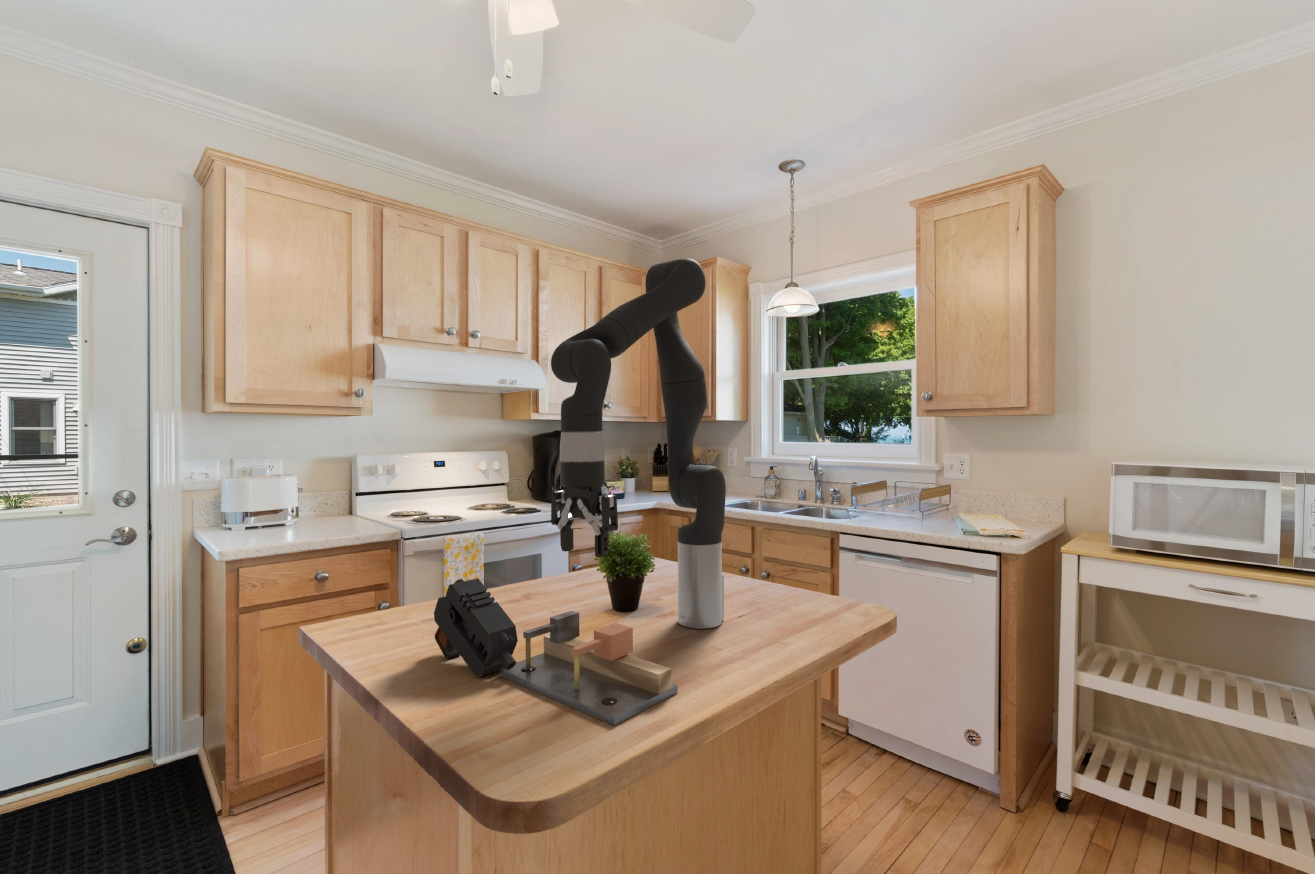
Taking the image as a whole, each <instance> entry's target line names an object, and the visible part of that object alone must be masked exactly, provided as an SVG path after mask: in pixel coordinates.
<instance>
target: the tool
mask: <svg viewBox="0 0 1315 874" xmlns="http://www.w3.org/2000/svg"><path fill="white" fill-rule="evenodd" d="M487 590H488V588H487V587H486V586H485V585H484V583H483V582H482V581H481V579H479V578H473V579H469V580H464V579H463V578H459V579H456V581H454V583H451V584H448V587H447V590H446V593H445V596H441V597H438V599H437V601H436V605H435V608H434V610H433V611H434V612H433V617H434V622H435V624H436V625H437V626H438V627H437V629H436V631H435V633H434V640H435V642H436V644H437V646H438V647H439V649H440V651H441V653H442V655H443V656H444V658H445V660H449V659H453V658H455V657H458V656H460V657H461V658H462V660H463V661H464V663H465V664H466V665H467V666H468V668H469V669H470V670H471V672H472V673H473V675H474V676H475V677H476V678H481V677H484V676H486V675H490V674H492V673H495V672H499V669H500V668H502V667H504V668H505V669H506V670H510V669H512V668H513V667H514V666H515V664H516V663H517V661H516V660H515V658H514V657H513V654H514V651H515V649H516V646H517V645H518V641H519V639H518V634H517V633H518V632H517V628H516V624H515V623H514V622H513V620H512V619H511V618H510V616H509V615H508V614H507V612H506V611H505V610H504V609H503V608H502V606H501V605H500V603H498V601H495V600H496V599H495V597H494V596H491V595H492V594H491V592H490V591H487Z"/></svg>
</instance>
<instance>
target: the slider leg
mask: <svg viewBox="0 0 1315 874" xmlns="http://www.w3.org/2000/svg"><path fill="white" fill-rule="evenodd" d="M592 650H594V655H596V656H599V657H602V658H604V659H607V660H610V661H612V660H615V659H617V658H620V657H622V656H625V655H630V654H632V653H634V628H633V627H631V626H629V625H628V626H627V625H624V624H620V623H618V622H614V623H611V624H608V625H606V626H603V627H599V628H596V629H594V630H593V640H590V641H587V643H584V644H581V645H579V646H576V647H573V648H572V655H574V687H575V688H579V687H580V666H579V655H582V654H585V653H587V652H590V651H592Z"/></svg>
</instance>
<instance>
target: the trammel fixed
mask: <svg viewBox="0 0 1315 874" xmlns="http://www.w3.org/2000/svg"><path fill="white" fill-rule="evenodd" d="M548 633H549V634H548ZM545 634H546V635H545ZM522 635H523V639H525V659H526V668H531V657H532V655H531V654H532V653H531V651H532V650H531V646H532V645H531V643H532V641H531V639H533V638H535V637H539V636H542V635H543V653H546V654H549V655H551V656H554V657H557V658H560V659H562V660H565V661H568V662H571V663H573V664H574V655H572V648H573V647H576V646H579V645H581V644H584V643H587V642H588V641H587V640H583V639H580V638H579V637H580V612H577V611H574V610H569V611H566V612H563V613H560V614H556V615H554V616H549V623H547V624H544V625H540V626H537V627H534V628H530V629H528V630H523V632H522ZM579 666H582V667H584V668H587V669H590V670H593V671H595V672H598V673H601V674H604V675H606V676H609V677H612V678H615V679H617V680H620V681H623V682H626V683H629V684H631V685H634V686H637V687H640V688H642V689H645V690H648V691H651V692H653V693H656V694H661V693H663V692H665V691H667V690H669V689H671V688H672V683H673V681H672V676H673V675H672V674H673V673H672V668H670V667H667V666H664V665H662V664H658V663H655V662H653V661H649V660H646V659H642V658H639V657H636V656H634V655H630V654H627V655H625V656H622V657H620V658H617V659H615V660H612V661H610V660H607V659H604V658H602V657H599V656H596V655H594V650H592V651H590V652H587V653H585V654H582V655H579Z"/></svg>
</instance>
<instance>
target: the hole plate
mask: <svg viewBox="0 0 1315 874" xmlns="http://www.w3.org/2000/svg"><path fill="white" fill-rule="evenodd" d="M498 677H501V678H503V679H505V680H508V681H510V682H512V683H515V684H516V685H519V686H521V687H524V688H526V689H528V690H531V691H533V692H535V693H538V694H540V695H542V696H544V697H547V698H549V699H550V700H551V699H552V700H553V701H555V702H558V703H561V704H563V705H565V706H568V707H570V708H573V709H575V710H577V711H579V712H582V713H583V714H586V715H588V716H591V717H594V718H595V719H598V720H599V721H603V722H605V723H607V724H609V725H611V726H614V727H615V726H617V725H619V724H620V723H623V722H624V721H627V720H628V719H630V718H632V717H635V716H636V715H638V714H640V713H641V712H644V711H646V710H647V709H650V708H651V707H653V706H654V705H657V704H659V703H661V702H663V701H665V700H666V699H669V698H670V697H672V696H674V695H676V694H678V693H679V692H678V690H679V688H678V684H676V683H674V682H672V688H671V689H669V690H667V691H665V692H663V693H661V694H656V693H653V692H651V691H648V690H645V689H642V688H640V687H637V686H634V685H631V684H629V683H626V682H623V681H620V680H617V679H615V678H612V677H609V676H606V675H604V674H601V673H598V672H595V671H593V670H590V669H587V668H584V667H582V666H580V687H579V688H575V687H574V664H573V663H571V662H568V661H565V660H562V659H560V658H557V657H554V656H551V655H549V654H546V653H544V652H542V653H539V654H537V655H534V656H531V668H526V658H525V659H522V660H520V661H516V664H515V666H514V667H513V668H512V669H510V670H506V669H505V668H504V667H502V668H500V669H499V670H498Z"/></svg>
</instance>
